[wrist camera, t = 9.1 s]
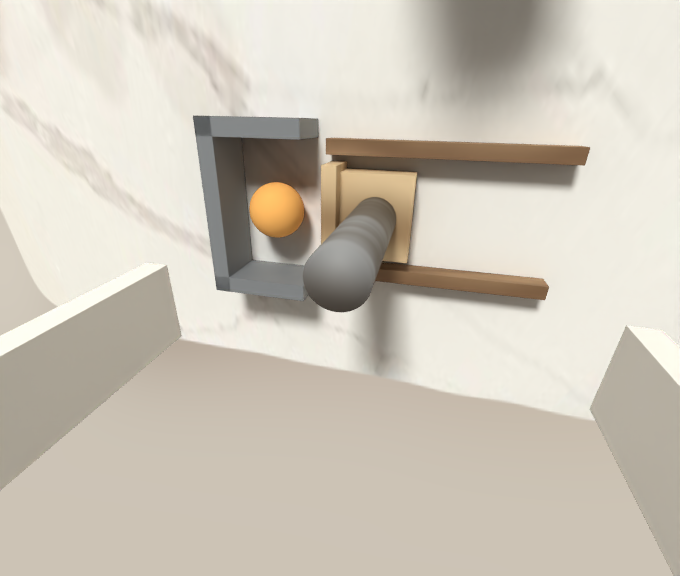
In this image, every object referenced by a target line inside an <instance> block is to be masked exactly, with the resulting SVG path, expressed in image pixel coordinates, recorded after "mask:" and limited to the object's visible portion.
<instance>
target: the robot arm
mask: <svg viewBox="0 0 680 576" xmlns="http://www.w3.org/2000/svg"><path fill="white" fill-rule="evenodd" d="M180 337H181V331H180V326H179V321H178V316H177V312H176V307H175V302H174V297H173V292H172V288H171V283H170V278H169V273H168V268H167V265H162V264H154V263H145V264H143V265H141V266H139V267H137V268H135V269H133V270H131V271H129V272H127V273H125V274H123V275H121V276H119V277H117V278H115V279H113V280H111V281H109V282H107V283H105V284H103V285H101V286H99V287H97V288H95V289H93V290H91V291H89V292H87V293H85V294H83V295H81V296H79V297H77V298H75V299H73V300H71V301H69V302H67V303H65V304H63V305H61V306H59V307H57V308H55V309H53V310H51V311H49V312H47V313H45V314H43V315H41V316H39V317H37V318H35V319H33V320H31V321H29V322H27V323H25V324H23V325H21V326H19V327H17V328H15V329H13V330H11V331H9V332H7V333H5V334H3V335H1V336H0V490H1V489H2V488H4V487H5V486H6V485H7V484H8V483H10V482H11V481H12V480H13V479H14V478H15V477H17V476H18V475H19V474H20V473H21V472H22V471H24V470H25V469H26V468H27V467H28V466H30V465H31V464H32V463H33V462H34V461H35V460H37V459H38V458H39V457H40V456H41V455H43V453H45V452H46V451H47V450H48V449H50V448H51V447H52V446H53V445H54V444H55V443H57V442H58V441H59V440H60V439H61V438H62V437H64V436H65V435H66V434H67V433H68V432H70V431H71V430H72V429H73V428H74V427H75V426H77V425H78V424H79V423H80V422H81V421H82V420H84V419H85V418H86V417H87V416H88V415H89V414H91V413H92V412H93V411H94V410H95V409H97V408H98V407H99V406H100V405H101V404H102V403H104V402H105V401H106V400H107V399H108V398H110V397H111V396H112V395H113V394H114V393H115V392H116V391H118V390H119V389H120V388H121V387H122V386H124V385H125V384H126V383H127V382H128V381H130V380H131V379H132V378H133V377H134V376H135V375H136V374H137V373H139V372H140V371H141V370H142V369H144V368H145V367H146V366H147V365H148V364H149V363H150V362H152V361H153V360H154V359H155V358H156V357H158V356H159V355H160V354H161V353H162V352H164V351H165V350H166V349H167V348H168V347H169V346H171V345H172V344H173V343H174V342H175V341H177V340H178V339H179V338H180ZM590 410H591V412H592V414H593V416H594V418H595V420H596V422H597V424H598V426H599V428H600V430H601V432H602V434H603V436H604V438H605V440H606V442H607V444H608V446H609V448H610V450H611V452H612V454H613V456H614V458H615V460H616V462H617V464H618V466H619V468H620V470H621V472H622V474H623V476H624V478H625V480H626V482H627V484H628V486H629V488H630V490H631V492H632V494H633V496H634V498H635V500H636V502H637V504H638V506H639V508H640V510H641V511H642V514H643V516H644V518H645V519H646V521H647V524H648V526H649V528H650V529H651V532H652V533H653V535H654V537H655V539H656V541H657V543H658V545H659V547H660V549H661V551H662V553H663V555H664V557H665V559H666V561H667V563H668V565H669V567H670V569H671V571H672V573H673V575H674V576H680V347H679V346H678V345H677V344H676V343H675V342H674V341H673V340H672V339H671V338H670V337H669V336H668V335H667V334H666V333H665V332H664V331H663V330H657V329H650V328H642V327H635V326H627V325H626V327H625V330H624V332H623V334H622V337H621V339H620V341H619V343H618V346H617V348H616V350H615V353H614V355H613V357H612V359H611V362H610V364H609V366H608V368H607V371H606V373H605V375H604V378H603V380H602V382H601V384H600V387H599V389H598V391H597V394H596V396H595V398H594V400H593V403H592V405H591V407H590Z"/></svg>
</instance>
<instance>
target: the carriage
mask: <svg viewBox="0 0 680 576" xmlns="http://www.w3.org/2000/svg"><path fill="white" fill-rule="evenodd" d="M416 180H417V172H405V171H385V170H365V169H347V161H331V162H328V163H326V164H323V165H321V245H320V246H319V247H318V248H317V250H316V251H315V252H314V253H313V254H312V255H311V256H310V257H309V258H308V260H307V262H306V264H305V266H304V270H303V282H304V286H305V289H306V291H307V293H308V294H309V296H310V297H311V298H312V300H313V301H315V302H316V303H317V304H318V305H319V306H321V307H323V308H325V309H327V310H330V311H334V312H348V311H352V310H354V309H357V308H358V307H360V306H361V305H362V304H364V302H365V301H366V300H367V299H368V297H369V295H370V293H371V290H372V287H373V285H374V282H375V279H376V277H377V274H378V271H379V268H380V266H381V263H382V261H390V262H400V263H407V259H408V254H409V245H410V236H411V226H412V217H413V208H414V198H415V189H416Z"/></svg>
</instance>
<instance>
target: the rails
mask: <svg viewBox="0 0 680 576" xmlns="http://www.w3.org/2000/svg"><path fill="white" fill-rule="evenodd" d="M589 150H590V147H584V146H565V145H534V144H504V143H474V142H444V141H413V140H383V139H353V138H327V139H326V154H329V155H353V156H376V157H400V158H423V159H446V160H470V161H493V162H517V163H540V164H563V165H585V164H586V160H587V157H588V153H589ZM375 281H380V282H389V283H398V284H407V285H416V286H425V287H433V288H442V289H451V290H460V291H469V292H478V293H487V294H495V295H504V296H513V297H522V298H531V299H540V300H545V299H546V296H547V292H548V289H549V286H548V285H547V284H546V282H545V281H544V279H539V278H530V277H520V276H510V275H500V274H491V273H481V272H471V271H461V270H451V269H442V268H432V267H422V266H412V265H402V264H393V263H383V262H382V263H381V266H380V268H379V271H378V274H377V277H376V279H375Z"/></svg>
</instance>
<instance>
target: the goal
mask: <svg viewBox="0 0 680 576" xmlns="http://www.w3.org/2000/svg"><path fill="white" fill-rule="evenodd" d="M193 120H194V127H195V135H196V142H197V149H198V156H199V164H200V171H201V178H202V186H203V193H204V200H205V208H206V215H207V222H208V229H209V237H210V244H211V251H212V259H213V266H214V273H215V280H216V288H217V290H222V291H230V292H237V293H245V294H253V295H260V296H268V297H276V298H284V299H291V300H299V301H304V300H305V298H306V297H307V296H308V293H307V291H306V289H305V286H304V282H303V270H304V266H302V265H293V264H284V263H275V262H266V261H256V260H252V252H251V240H250V229H249V217H248V206H247V195H246V183H245V172H244V160H243V149H242V138H271V139H299V140H300V139H308V138H317V137H318V119H311V118H277V117H231V116H193Z"/></svg>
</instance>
